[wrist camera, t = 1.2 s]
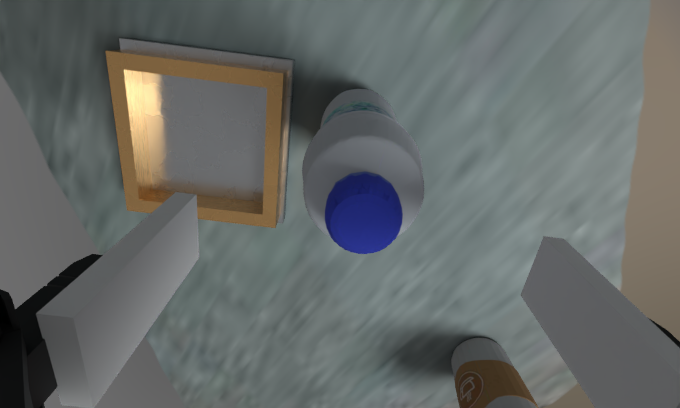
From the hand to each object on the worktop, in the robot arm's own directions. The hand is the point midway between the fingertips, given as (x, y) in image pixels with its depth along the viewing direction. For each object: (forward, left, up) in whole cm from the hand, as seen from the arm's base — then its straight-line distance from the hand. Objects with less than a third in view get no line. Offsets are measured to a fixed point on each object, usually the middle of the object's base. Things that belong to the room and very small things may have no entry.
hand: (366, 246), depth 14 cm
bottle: (0, 0, -21) cm, 21 cm away
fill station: (+3, -13, -21) cm, 25 cm away
